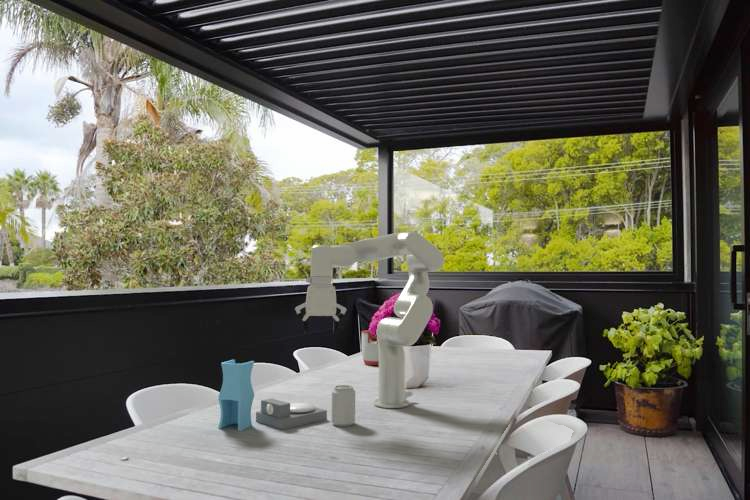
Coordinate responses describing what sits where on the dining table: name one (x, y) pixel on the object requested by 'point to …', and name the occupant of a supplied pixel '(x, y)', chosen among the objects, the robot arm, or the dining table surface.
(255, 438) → the dining table surface
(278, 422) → the scale
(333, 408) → the can
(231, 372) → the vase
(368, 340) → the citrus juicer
